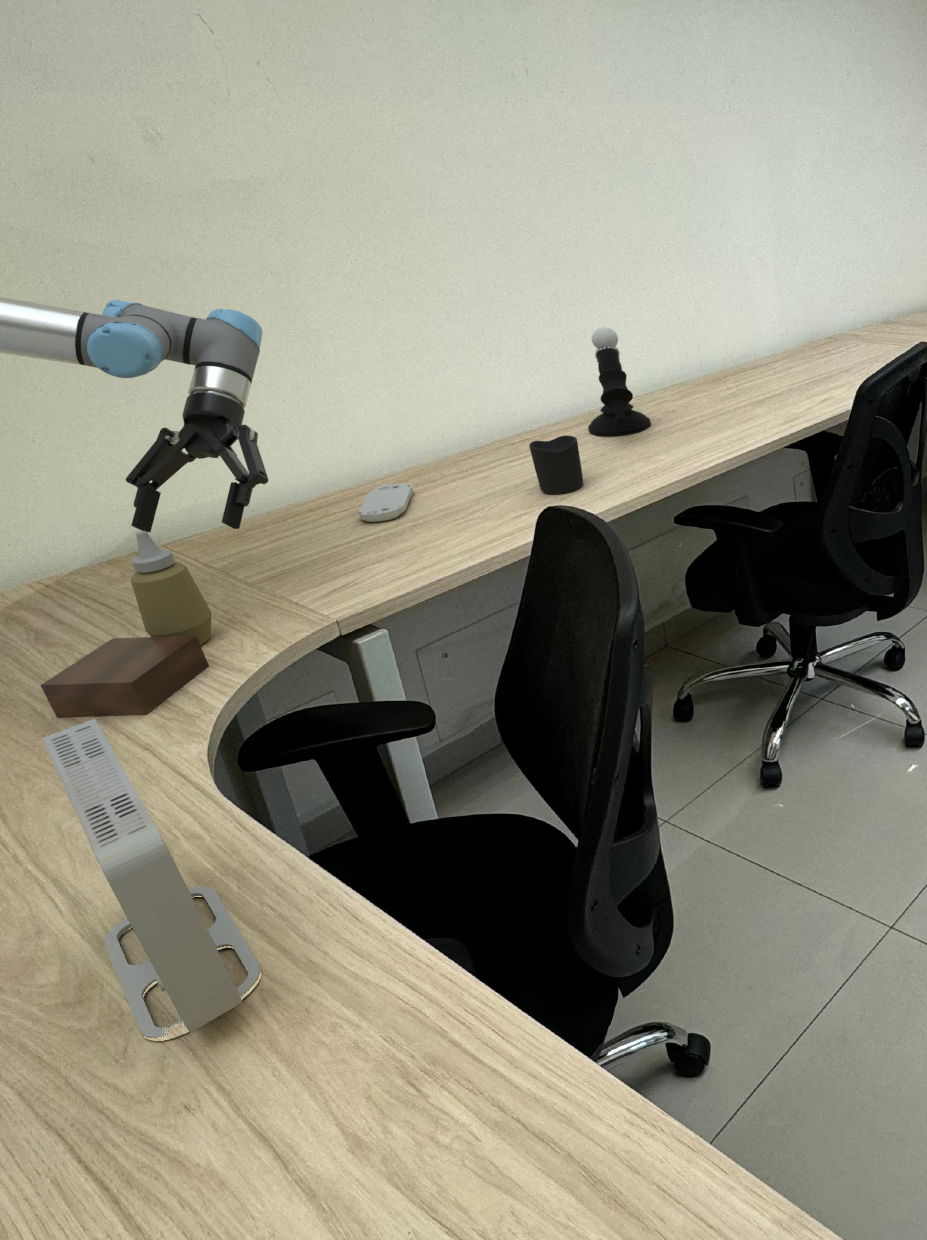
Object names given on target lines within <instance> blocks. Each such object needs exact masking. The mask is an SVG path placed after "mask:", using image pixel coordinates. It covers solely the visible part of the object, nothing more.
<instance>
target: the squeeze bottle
mask: <svg viewBox="0 0 927 1240" xmlns="http://www.w3.org/2000/svg"><path fill="white" fill-rule="evenodd" d="M135 535H136V542H137V551H138V555H136V556H135V557H134V558H132V559H131V563H132V566H133V568H134V571H135V572H134V573H133V575H132V576H131V578H130V583H131V587H132V590H133V593H134V596H135V600H136V603H137V606H138V609H139V614H140V618H141V620H142V624H143V627H144V630H145V633H147V634H148V635H149V637H170V636H197V638H198V641H199V643H200V645H201V646H202V645H203V644H205V643H206V642H208V640H210V639H211V638H212V610H211V608H210V607H209V604H208V603H207V601H206V599H205V598H204V596H203V594H202V592H201V591H200V589H199V586H198V585H197V583H196V582H195V580H194V578H193V576H192V575H191V573H190V571H189V570H188V567H187V565H186V564H184V563H181V562H178V561H176V560H175V557H174V555H173V553H172V551H171V550H169V549H161V548H160V547H159V546H158V545H157V543H156V542H155V541H154V539H153V538H152V537H151V535H150V534H149V532H146V531H142V530H140V531H138V532H136V533H135Z"/></svg>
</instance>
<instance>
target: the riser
mask: <svg viewBox="0 0 927 1240" xmlns="http://www.w3.org/2000/svg"><path fill="white" fill-rule="evenodd" d="M209 667H210V665H209V662H208V660H207V658H206V655H205V653H204V650H203V647H202V644H201V645H200V643H199V641H198V638H197V636H170V637H151V636H145V637H118V638H117V637H115V638H111V639H109V640H107V641H106V642H104V643H103V644H102V645H99V646H98V647H97V648H95V649H94V650H92V651H91V652H90V653H88V654H86V655H85V656H82V658H80V659H78V660H77V661H75V662H74V663H72V664H71V665H69V666H68V667H66V668H65V669H63V670H62V671H60V672H58V673H57V674H56V675H54V676H52V677H51V678H49V679H48V680H46V681H44V682H43V683H42V684H40V688H41V689H42V692H43V693H44V695H45V698H46V699H47V701H48V703H49V706H50V707H51V709H52V711H53V713H54V715H55V717H56V718H79V717H81V718H82V717H110V716H111V717H112V716H144V715H145V716H146V715H148V714H149V713H151V712H152V711H153V710H155V709H156V708H157V707H158V706H160V705H161V704H162V703H164V702H165V701H166V700H167V699H169V698H170V697H171V696H173V695H174V694H175V693H176V692H178V691H179V690H180V689H182V688H183V687H184V686H186V685H187V684H188V683H190V681H192V680H194V678H195V677H197V676H198V675H199V674H201V673H202V672H203V671H205V670H206V669H207V668H209Z"/></svg>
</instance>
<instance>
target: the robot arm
mask: <svg viewBox="0 0 927 1240" xmlns="http://www.w3.org/2000/svg"><path fill="white" fill-rule="evenodd" d="M262 338H263V328H262V326H261V325H260V323H259V322H258V321H257V320H256V319H255V318H253V316H250V315H249V314H246V313H244V312H242V311H239V310H236V309H231V308H227V309H223V308H217V309H216V308H215V309H214V310H212V311H210V312H209V314H208V316H206V318H200V317H194V316H189V315H185V314H181V313H177V312H173V311H168V310H165V309H162V308H161V309H160V308H157V307H153V306H148V305H145V304H142V303H140V302H129V301H124V300H121V299H113V300H110V301H108V302H107V303H106V305H105V307H104V308H103V309H102V313H101V314H99V313H92V312H86V311H82V310H76V309H72V308H71V309H70V308H66V307H60V306H59V307H58V306H53V305H49V304H48V305H47V304H44V303H43V304H42V303H37V302H31V301H25V300H19V299H14V298H8V297H3V296H0V353H1V354H6V355H13V356H20V357H26V358H31V359H32V358H34V359H40V360H47V361H52V362H58V363H59V362H60V363H66V364H73V365H81V366H85V367H91V368H95V369H99V370H100V371H102V372H103V373H105V374H108V375H109V376H112V377H114V378H115V377H116V378H118V379H119V378H120V379H134V378H137V377H138V378H139V377H141V376H144V375H147V374H149V373H150V372H152V371H154V370H156V368H158V367H159V365H160V364H161V362H163V361H164V360H165V361H170V362H176V363H180V364H185V365H189V366H194V370H193V374H192V377H191V381H190V383H189V388H188V390H187V393H188V396H187V397H186V399H185V403H184V407H183V411H182V415H181V416H182V421H183V426H182V428H181V429H180V430H179V431H178V430H171V429H169V428H168V427H161V428H160V430H159V432H158V435H157V438H156V440H154V443H153V444H152V445H151V446H150V448H149V449H148V450H147V451H146V452H145V454H144V455H143V456H142V457H141V458H140V460H139V461H138V462H137V463H136V464H135V466H134V467H133V469H132V470H131V471H130V473H128V475H127V476H126V478H125V482H126V483H127V484H129V485H132V486H133V487H136V493H135V497H134V500H133V507H134V508H135V510H134V514H133V517H132V522H131V524H130V526H131V527H133V528H135V529H138V530H139V531H146V532H147V533H151V532H152V529H153V525H154V521H155V517H156V513H157V509H158V505H159V502H160V498H161V494H162V492H160V491H158V489H159V488H160V487H162V486H163V485H164V484H165V483H166V482H167V481H168V480H170V479H171V478H172V477H173V476H174V475H176V473H177V472H179V471H180V470H181V469H182V468H183V467H184V466H186V465H187V464H188V463H193V462H194V461H195V460H197V459H198V460H201V459H207V458H211V459H219V457H220V458H221V460H222V461H223V463H224V464H225V465H226V467H227V468H228V469H229V471H230V472H231V473H232V475H233V476H234V480H235V481H233V482H232V481H231V482H230V486H229V490H228V493H227V498H226V502H225V506H224V510H223V514H222V519H221V523H222V524H223V525H226V526H228V527H230V528H231V529H233V530H240V527H241V524H242V520H243V515H244V510H245V507H248V506H249V505H250V502H251V498H252V494H253V490H254V488H256V487H257V485H260V484H262V485H265V484H268V482H269V477H268V474H267V470H266V467H265V464H264V461H263V458H262V455H261V452H260V449H259V446H258V437H259V433H258V432H257V431H256V430H254V429H253V428H251V427H250V426H248V425H247V424H243V422H244V418H245V412H246V410H245V408H246V406H247V403H248V399H249V396H250V391H251V387H252V383H253V379H254V375H255V371H256V367H257V363H258V361H259V360H258V359H259V356H260V354H261V345H262ZM237 441H238V442H239V446H240V449H241V452H242V455H243V458H244V461H245V465H246V467H247V468H246V467H245V465H244V464H243V463H242V461H241V460H240V459H239V457H238V454H237V453H236V452H235V450H234V448H233V447H232V446H233V445H234V444H235V443H236V442H237ZM183 450H185V451H183ZM186 452H187V453H186ZM236 481H237V482H236Z"/></svg>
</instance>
